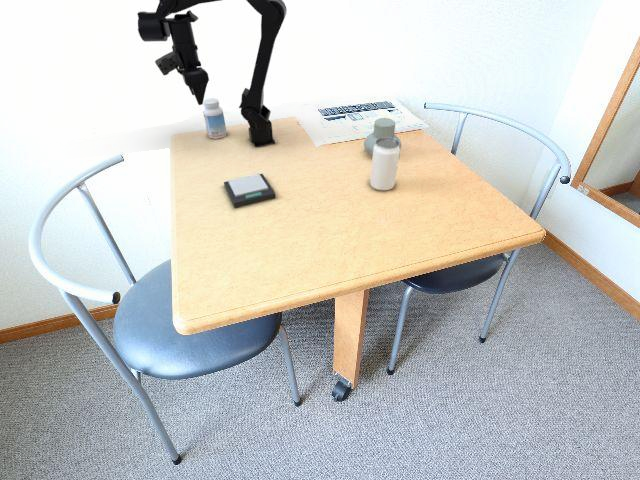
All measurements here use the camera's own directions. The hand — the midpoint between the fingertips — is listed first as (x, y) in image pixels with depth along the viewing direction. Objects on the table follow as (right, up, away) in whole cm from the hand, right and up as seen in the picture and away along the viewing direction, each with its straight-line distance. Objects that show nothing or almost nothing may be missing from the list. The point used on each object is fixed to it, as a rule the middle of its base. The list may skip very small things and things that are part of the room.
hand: (197, 99), depth 108 cm
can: (+53, -27, -11) cm, 60 cm away
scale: (+18, -29, -14) cm, 37 cm away
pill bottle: (+3, -7, +12) cm, 14 cm away
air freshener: (+55, -16, +2) cm, 57 cm away
